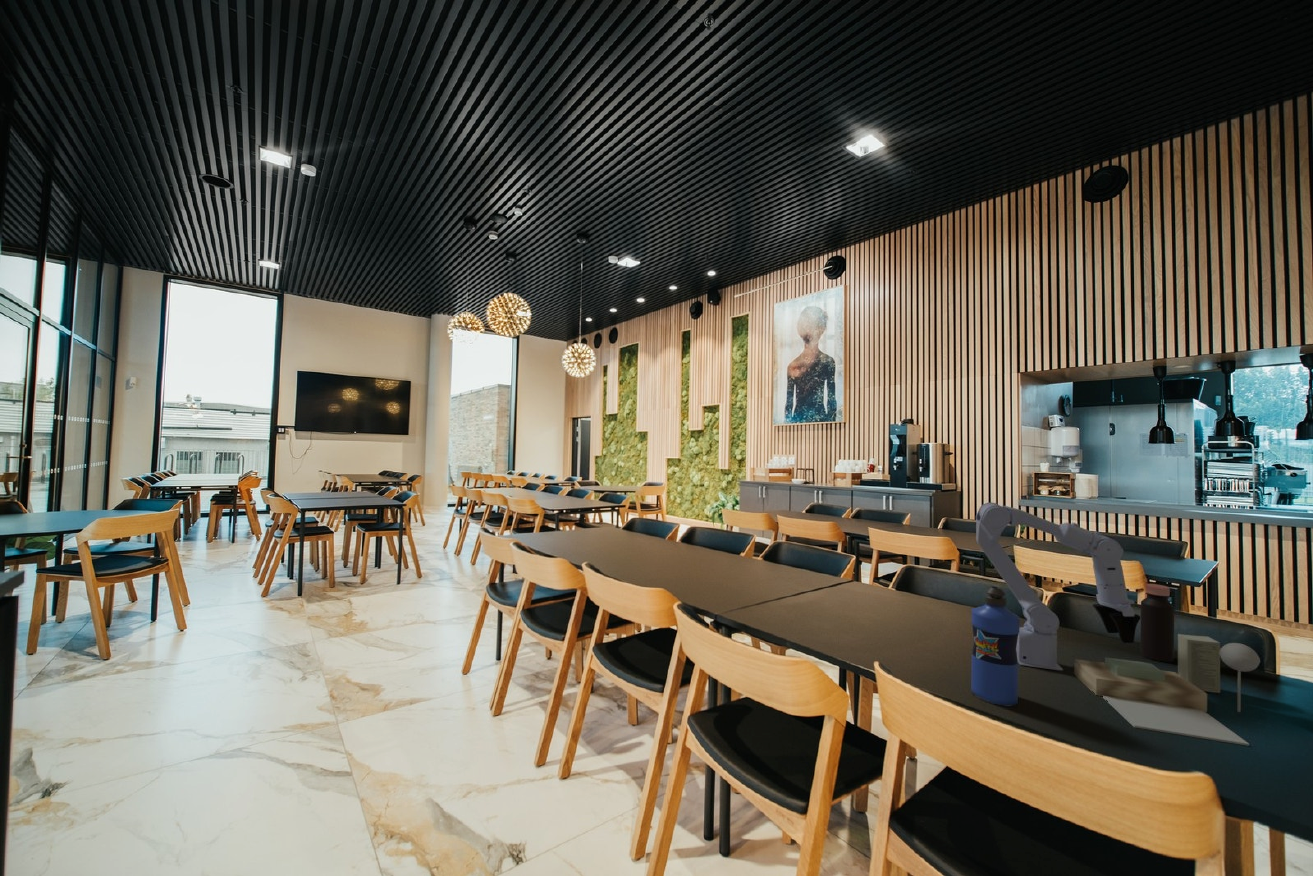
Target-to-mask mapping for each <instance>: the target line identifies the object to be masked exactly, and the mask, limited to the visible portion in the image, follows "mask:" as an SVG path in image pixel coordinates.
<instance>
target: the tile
mask: <svg viewBox="0 0 1313 876" xmlns="http://www.w3.org/2000/svg"><path fill="white" fill-rule="evenodd" d="M1104 663H1105V666H1106V667H1107V668H1109V669H1110V670H1111V671H1112V672H1114V673H1115V674H1116V675H1118V676H1126V677H1133V678H1140V679H1148V680H1155V681H1162V682H1165V673H1164V672H1163V671H1164V670H1163V671H1161V670H1162V669H1160V668H1159V667H1156V666H1155V665H1154V664H1152V663H1150V662H1143V661H1137V660H1136V661H1135V660H1129V659H1128V660H1127V659H1119V658H1112V657H1104Z"/></svg>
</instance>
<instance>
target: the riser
mask: <svg viewBox="0 0 1313 876" xmlns="http://www.w3.org/2000/svg"><path fill="white" fill-rule="evenodd" d="M1160 670H1161V671H1163V672H1164V673H1165V682H1162V681H1155V680H1148V679H1140V678H1133V677H1126V676H1118V675H1116V674H1115V673H1114V672H1112V671H1111V670H1110V669H1109V668H1107V667H1106V666H1105V662H1102V661H1091V660H1084V659H1078V658H1074V676H1075V675H1076V676H1075V677H1076V678H1077V679H1078V680H1079V681H1080V682H1082V683H1083V685H1085V686H1086V688H1088V689H1089V690H1090V691H1091V692H1092V691H1093V692H1094V693H1095V694H1094V693H1093V692H1092V693H1093V694H1094V695H1095V696H1096V695H1098V696H1097V697H1102V695H1103V696H1109V697H1116V698H1123V699H1129V700H1136V701H1143V702H1150V703H1156V704H1163V705H1170V706H1177V707H1183V708H1190V709H1197V710H1203V711H1204V712H1206V713H1207V712H1208V693H1207V692H1206V691H1202V690H1201V689H1199V688H1198V687H1196V686H1195V685H1193V684H1192V683H1190V682H1189V681H1187V680H1186V679H1184V678H1183V677H1181V676H1180V675H1178V672H1175V671H1169V670H1162V669H1160Z"/></svg>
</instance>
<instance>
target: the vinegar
mask: <svg viewBox="0 0 1313 876" xmlns="http://www.w3.org/2000/svg"><path fill="white" fill-rule="evenodd" d="M1144 589H1145V595H1146V597H1145V598H1144V599H1142V600H1141V601H1140V634H1139V635H1140V639H1139V640H1140V646H1139V647H1140V648H1139V649H1140V651H1139V653H1140V655H1141V656H1142V657H1144V658H1146V659H1149V660H1152V659H1153V661H1156V662H1162V663H1172V662H1174V658H1175V606H1174V605H1173V604H1172V603H1171V602H1170V601H1169V598H1170V593H1171V591H1170V590H1171V588H1170V587H1169V586H1166V585H1161V584H1157V583H1147V584H1145V588H1144Z"/></svg>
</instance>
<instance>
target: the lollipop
mask: <svg viewBox="0 0 1313 876" xmlns="http://www.w3.org/2000/svg"><path fill="white" fill-rule="evenodd" d="M1219 654H1220V660H1222V662H1223V663H1224V664H1225V665H1226V666H1228V667H1229V668H1231V669H1233V670H1235V671H1237V697H1236V698H1237V703H1236V704H1237V705H1236V706H1237V710H1236V711H1237V712H1238V713H1241V701H1242V699H1241V691H1242V689H1241V688H1242V687H1241V686H1242V685H1241V684H1242V683H1241V682H1242V680H1241V678H1242V677H1241V675H1242V672H1245V673H1246V672H1251V671H1254V670H1256V669H1257V668H1258V667H1259V666H1260V663H1261V659H1260V657H1259V655H1258V653H1257V652H1256V651H1255V650H1254V649H1253V648H1252V647H1250V646H1247V645H1246V644H1243V643H1239V642H1229V643H1226V644H1225V645H1223V646H1222V647H1220V651H1219Z"/></svg>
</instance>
